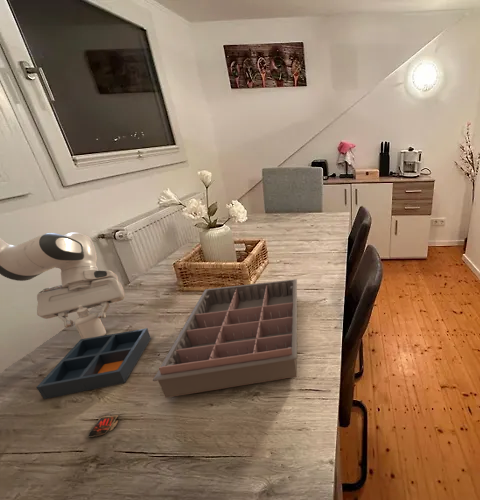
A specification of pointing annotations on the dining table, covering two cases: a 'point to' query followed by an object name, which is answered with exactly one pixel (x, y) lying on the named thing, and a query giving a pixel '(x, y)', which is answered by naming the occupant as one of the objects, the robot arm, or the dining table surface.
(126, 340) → the grid
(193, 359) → the organizer tray
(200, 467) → the dining table surface
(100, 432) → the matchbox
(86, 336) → the eye dropper bottle
